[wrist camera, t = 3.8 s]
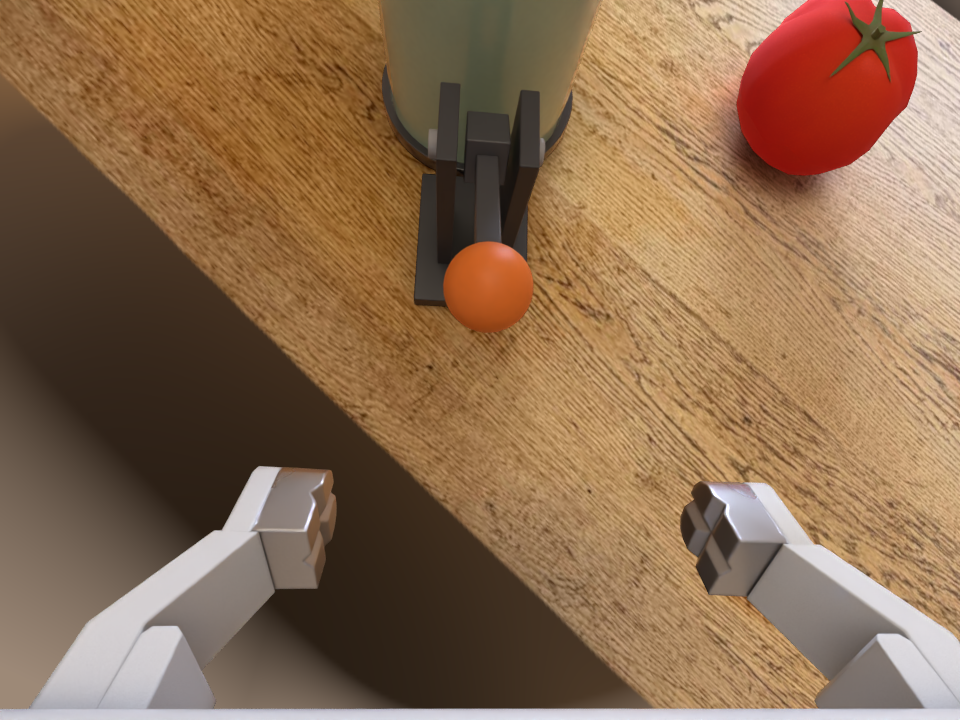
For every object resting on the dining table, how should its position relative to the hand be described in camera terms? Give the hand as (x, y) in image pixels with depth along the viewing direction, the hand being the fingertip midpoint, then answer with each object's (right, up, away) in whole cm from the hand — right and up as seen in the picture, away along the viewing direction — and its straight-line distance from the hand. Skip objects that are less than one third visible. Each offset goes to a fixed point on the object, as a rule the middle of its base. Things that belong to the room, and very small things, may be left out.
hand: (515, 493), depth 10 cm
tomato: (+24, +22, +29) cm, 44 cm away
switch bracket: (-1, +12, +25) cm, 27 cm away
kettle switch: (-1, +9, +12) cm, 15 cm away
